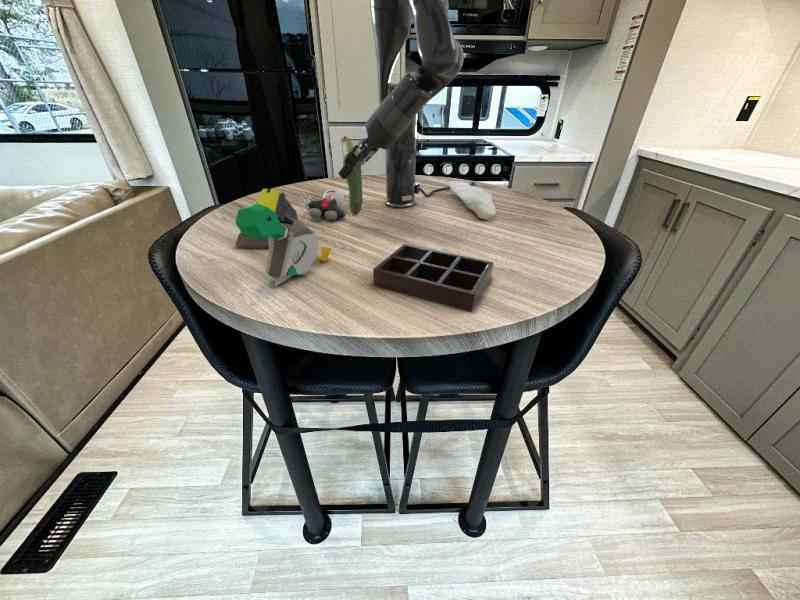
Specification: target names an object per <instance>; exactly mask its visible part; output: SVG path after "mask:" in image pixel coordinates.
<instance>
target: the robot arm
mask: <svg viewBox="0 0 800 600" xmlns="http://www.w3.org/2000/svg"><path fill="white" fill-rule="evenodd" d="M369 4H370V5H369V6H370V13H371V15H370V16H371V24H372V33H373V38H374V39H373V40H374V46H375V47H374V48H375V54H376V55H375V57H376V66H377V68H376V70H377V86H378V105H379V106H378V107H376V109H375V110H374V112H373V113H372V114H371V115H370V117H369V118H368V119H367V120H366V122H365V123H364V131H365V134H366V137H365V138H361V139H360V141H359V142H358V144H356V145H353V147H354V148H353V149H352V151H351V152H350V154H349V155H348V157H347V158H346V159H345V161H344V162H345V163H346V164H345V165H344V166H343V165H342V168H341V169H339V171H338V176H339V177H340V178H341V179H342V180H346V178H347V177H348V176H349V175H350V173H351V172H352V171H353V170H355V169H356V167H357V166H358V165H359V164H360V165H361V166H364V165H365V163H367V162H369V160H371V158H373V156H374V155H375V154H377V153H378V152H379V150H380V149H382V150H384V151H385V181H386V183H385V184H386V187H385V189H386V202H385V203H386V205H387V206H389V207H391V208H398V209H403V208H404V209H405V208H410V207H413V206H414V205H415V204H416V203H415V202H416V200H415V198H416V197H415V196H416V195H417V194H419V193H422V195H423V196H424V197H426V198H429V197H432V195H433V194H434V193H435V192H441V191H445V190H447V191H448V190H451V189H450V186H447V187H440V188H436V189H433V190H431V191H430V193H428V194H427V193H426V192H425V191H424V190H423V188H420V187H421V183H420V182H419V183H418V182H416V156H417V154H416V153H417V147H416V146H417V123H418V122H417V121H418V114H420V112H421V111H422V110H423V108H424V107H426V105H427V103H429V102H430V101H431V100H432V99H433V98H434V97H435V96H437V95H438V94H439V93H440V92H442V91H443V90H444V89H445V88H446V87H448V86H449V84H451V82H453V80H454V79H455V78H456V77H457V75H458V74H459V73H460V71H461V69H462V67H463V65H464V59H465V55H464V53H465V52H464V50H463V47H462V45H461V43H460V42H459V41H458V40H457V39H456V38H455V37H454V34H453V30H452V27H451V26H452V25H451V22H450V18H449V14H448V13H449V0H369ZM412 19H413V21H414V26H415V27H414V29H415V36H416V42H417V49H418V54H419V57H420V61H421V65H420V66H419V67H417V69H416V70H414V71H413V72H407V74H405V75H404V76H403V77H402V78H401V79H400V81H398V83H392V82H391V76H392V73H393V69H394V66H395V64H396V61H397V59H398V57H399V55H400V54H401V51H402V49H404V48H403V47H404V46H405V44H406V42H407V40H408V37H409V35H410V32H411V29H412ZM351 160H352V161H353V162H354V163H353V162H352V161H351ZM469 185H470V186H475V185H476V184H475V182H474V181H471V183H469Z"/></svg>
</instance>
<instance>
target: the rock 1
mask: <svg viewBox="0 0 800 600" xmlns="http://www.w3.org/2000/svg"><path fill="white" fill-rule="evenodd" d="M278 194H279V197H278V201H277V206H276V210H275V214H276V215H277V217H284V216H285V217H287V218H288V219H290V220H295V219H297V220H299V218H298V214H297V210H296V209H295V208H294V207H293V206H292V204H291V203H290V202H289V201H288V199H287V197H286V194H285V192H284V191H283V192H282V191H281V192H278ZM281 224H282V223H281ZM235 246H236V247H237V248H239V249H269V237H268V238H264V239H260V240H256V239H253V238H250V237H249V236H247V235H245V234H243V233H241V232H239V234H238V235H237V238H236V241H235Z"/></svg>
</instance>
